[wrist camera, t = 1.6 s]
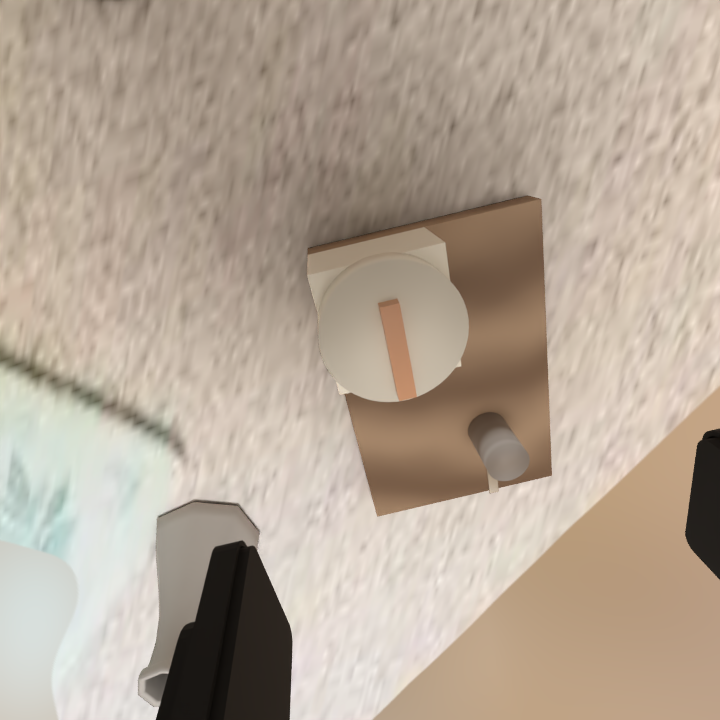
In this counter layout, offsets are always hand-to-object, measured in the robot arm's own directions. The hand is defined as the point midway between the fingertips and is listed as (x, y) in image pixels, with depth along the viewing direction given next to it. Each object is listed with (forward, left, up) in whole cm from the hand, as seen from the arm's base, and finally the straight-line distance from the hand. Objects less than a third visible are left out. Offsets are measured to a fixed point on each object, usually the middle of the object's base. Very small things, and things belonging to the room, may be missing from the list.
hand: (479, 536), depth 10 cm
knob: (0, 0, -16) cm, 16 cm away
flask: (+15, -15, -18) cm, 28 cm away
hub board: (+6, +3, -18) cm, 19 cm away
